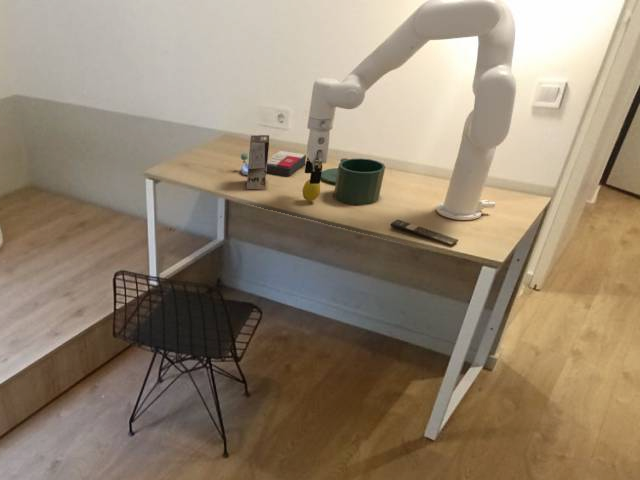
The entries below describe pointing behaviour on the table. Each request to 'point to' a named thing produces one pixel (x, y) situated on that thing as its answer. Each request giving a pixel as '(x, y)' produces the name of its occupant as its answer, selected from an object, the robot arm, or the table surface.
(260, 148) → the coffee box
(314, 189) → the lemon
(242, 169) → the figurine
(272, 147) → the table surface
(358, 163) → the tin
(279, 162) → the grey red flat block
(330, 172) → the tin lid
